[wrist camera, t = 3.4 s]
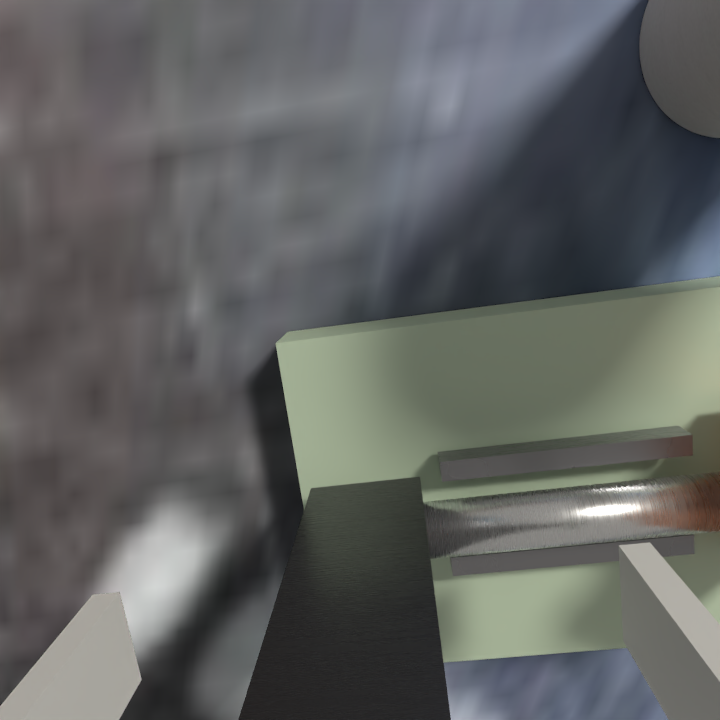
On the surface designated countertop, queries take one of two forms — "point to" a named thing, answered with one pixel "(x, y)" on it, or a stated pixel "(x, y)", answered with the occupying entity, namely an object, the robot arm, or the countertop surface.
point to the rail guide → (564, 457)
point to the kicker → (423, 583)
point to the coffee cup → (683, 61)
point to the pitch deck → (515, 433)
